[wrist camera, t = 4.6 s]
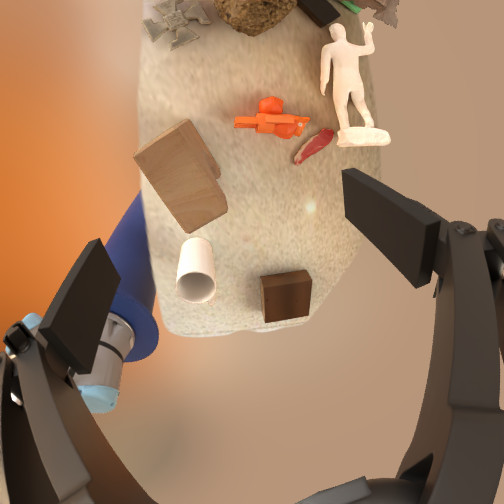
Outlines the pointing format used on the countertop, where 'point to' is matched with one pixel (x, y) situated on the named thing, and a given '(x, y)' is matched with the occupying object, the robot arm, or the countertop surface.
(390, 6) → the monument
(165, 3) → the cross
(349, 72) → the figurine
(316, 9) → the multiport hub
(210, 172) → the decorative block
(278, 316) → the plinth
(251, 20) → the fossil
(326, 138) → the steak
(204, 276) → the mug
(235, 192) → the countertop surface
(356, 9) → the toy
